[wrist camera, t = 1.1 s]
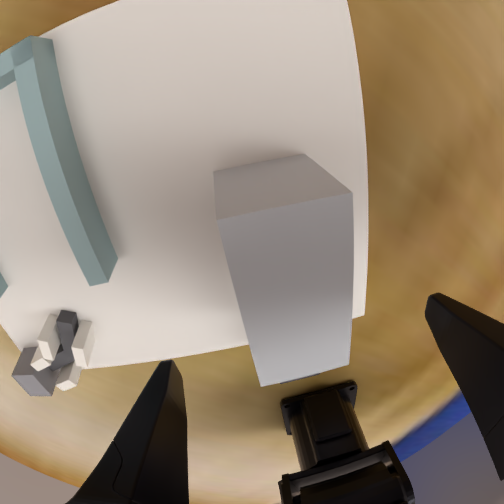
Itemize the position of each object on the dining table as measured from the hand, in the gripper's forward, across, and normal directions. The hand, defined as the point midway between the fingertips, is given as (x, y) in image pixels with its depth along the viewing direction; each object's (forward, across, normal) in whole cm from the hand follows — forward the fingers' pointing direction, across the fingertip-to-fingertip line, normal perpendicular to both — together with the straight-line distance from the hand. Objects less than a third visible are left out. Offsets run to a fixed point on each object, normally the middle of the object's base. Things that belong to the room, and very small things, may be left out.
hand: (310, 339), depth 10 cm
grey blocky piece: (+6, +15, +4) cm, 16 cm away
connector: (+6, 0, +1) cm, 6 cm away
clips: (+6, +13, +4) cm, 15 cm away
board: (+7, +7, -3) cm, 10 cm away
